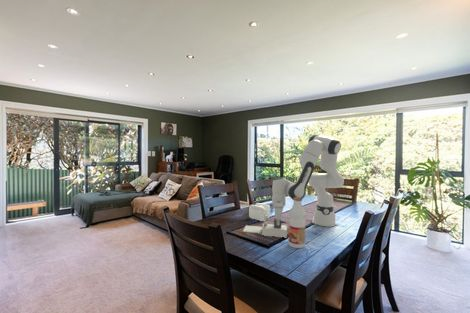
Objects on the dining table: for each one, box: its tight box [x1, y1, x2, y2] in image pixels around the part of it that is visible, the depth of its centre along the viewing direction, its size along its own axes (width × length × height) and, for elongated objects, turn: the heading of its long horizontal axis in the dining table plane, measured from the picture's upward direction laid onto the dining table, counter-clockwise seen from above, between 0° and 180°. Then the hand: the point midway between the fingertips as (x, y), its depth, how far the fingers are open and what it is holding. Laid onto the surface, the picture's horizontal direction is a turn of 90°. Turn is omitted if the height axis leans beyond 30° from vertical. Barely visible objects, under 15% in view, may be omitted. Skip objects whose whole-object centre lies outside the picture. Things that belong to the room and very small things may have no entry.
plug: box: [273, 217, 287, 228], centre depth 148 cm, size 5×8×8 cm, turn 78°
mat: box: [242, 224, 262, 235], centre depth 156 cm, size 12×12×1 cm
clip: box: [263, 211, 268, 226], centre depth 154 cm, size 2×11×7 cm, turn 170°
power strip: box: [261, 223, 288, 239], centre depth 149 cm, size 9×16×6 cm, turn 78°
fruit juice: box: [287, 197, 306, 249], centre depth 131 cm, size 9×9×28 cm
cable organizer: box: [248, 202, 271, 222], centre depth 182 cm, size 15×11×12 cm
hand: (278, 222), depth 147 cm, fingers open, 8 cm apart
